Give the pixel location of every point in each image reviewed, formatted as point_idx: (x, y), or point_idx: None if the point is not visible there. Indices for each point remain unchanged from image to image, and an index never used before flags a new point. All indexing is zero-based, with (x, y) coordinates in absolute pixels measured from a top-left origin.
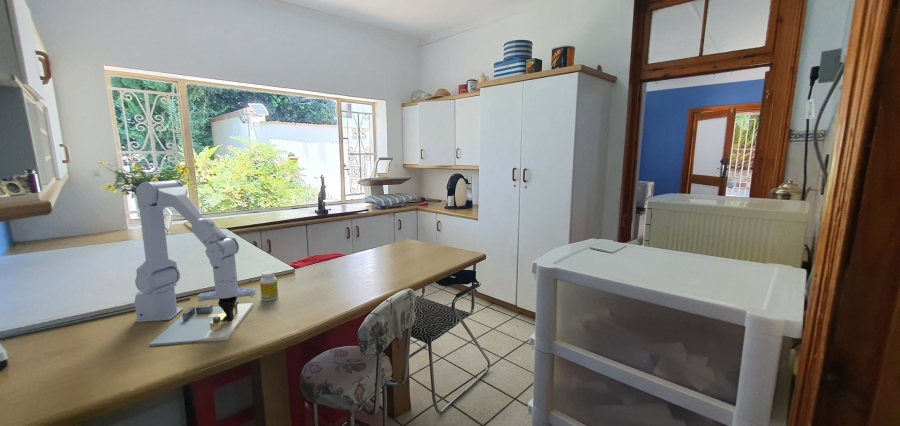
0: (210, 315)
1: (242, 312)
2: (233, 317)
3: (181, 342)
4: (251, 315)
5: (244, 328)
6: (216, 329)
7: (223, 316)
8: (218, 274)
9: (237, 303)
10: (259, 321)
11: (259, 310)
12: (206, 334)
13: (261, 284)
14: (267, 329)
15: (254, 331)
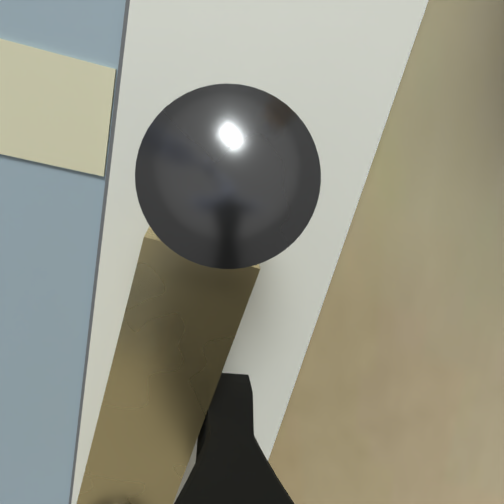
0: None
1: (322, 175)
2: (249, 382)
3: None
4: (398, 206)
5: (330, 434)
6: None
7: (157, 483)
8: None
9: (307, 222)
10: (447, 359)
11: (494, 94)
12: (62, 489)
13: None
14: (474, 486)
15: (394, 489)
